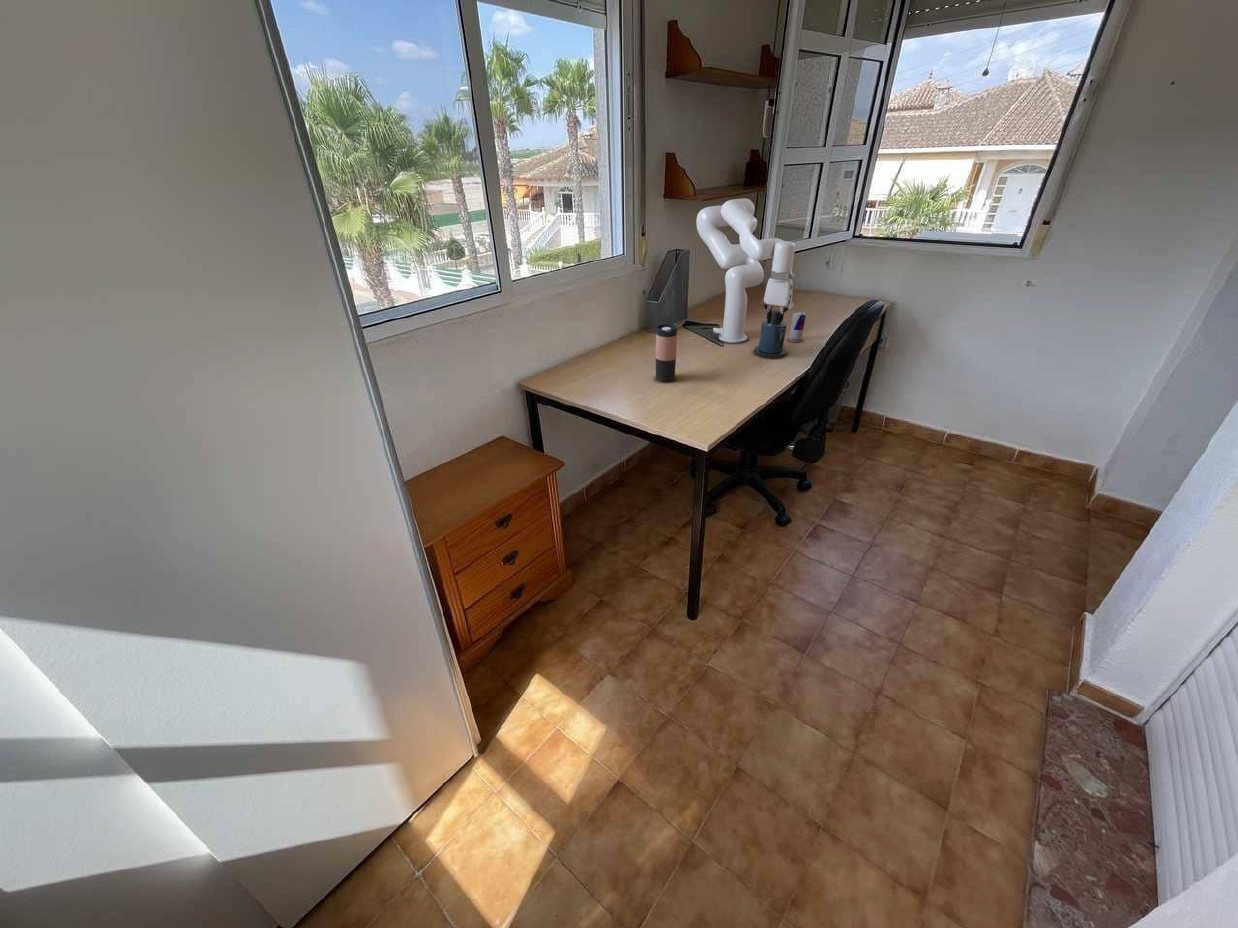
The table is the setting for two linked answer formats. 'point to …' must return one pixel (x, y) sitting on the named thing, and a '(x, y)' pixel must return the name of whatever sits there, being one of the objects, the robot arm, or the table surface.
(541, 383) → the table surface
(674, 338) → the travel mug
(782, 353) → the base
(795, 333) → the energy drink
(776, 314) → the kettle
